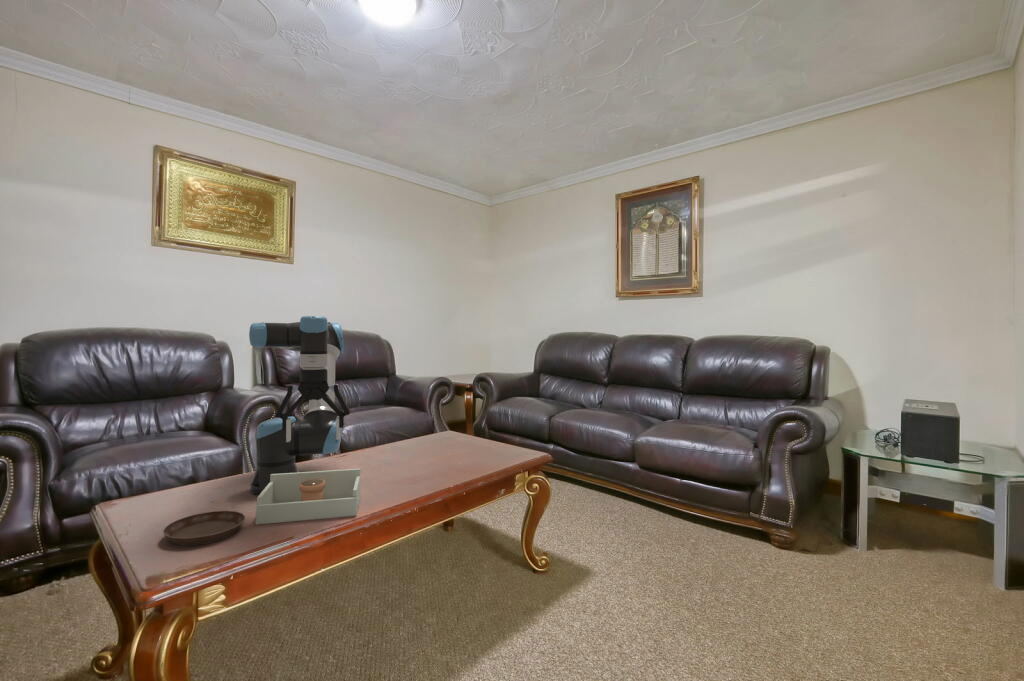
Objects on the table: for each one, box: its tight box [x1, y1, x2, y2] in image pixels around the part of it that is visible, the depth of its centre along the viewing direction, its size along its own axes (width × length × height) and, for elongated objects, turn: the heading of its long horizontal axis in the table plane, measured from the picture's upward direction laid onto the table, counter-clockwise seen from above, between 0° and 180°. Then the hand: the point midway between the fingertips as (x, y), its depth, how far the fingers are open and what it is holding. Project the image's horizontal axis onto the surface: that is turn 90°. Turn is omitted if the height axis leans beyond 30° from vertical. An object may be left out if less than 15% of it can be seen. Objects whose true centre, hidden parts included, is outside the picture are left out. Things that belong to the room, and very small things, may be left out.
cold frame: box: [255, 468, 361, 525], centre depth 135 cm, size 16×26×9 cm, turn 105°
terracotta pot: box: [299, 479, 325, 501], centre depth 135 cm, size 7×7×8 cm
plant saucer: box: [162, 510, 246, 546], centre depth 119 cm, size 18×18×3 cm
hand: (313, 439), depth 135 cm, fingers open, 13 cm apart
